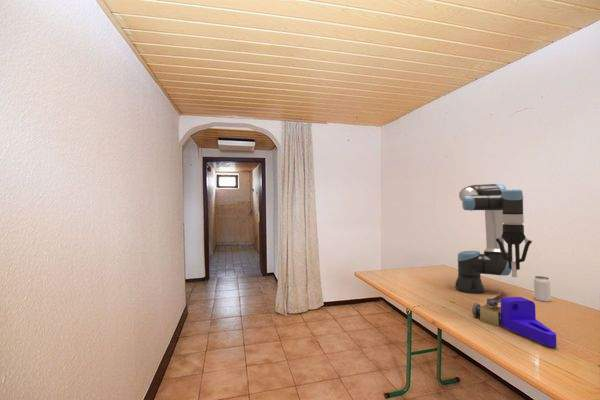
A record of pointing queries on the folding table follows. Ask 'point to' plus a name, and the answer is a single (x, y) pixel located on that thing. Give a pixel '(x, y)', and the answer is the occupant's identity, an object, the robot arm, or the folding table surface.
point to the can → (542, 288)
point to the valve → (487, 313)
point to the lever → (495, 300)
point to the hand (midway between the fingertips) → (514, 276)
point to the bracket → (525, 320)
